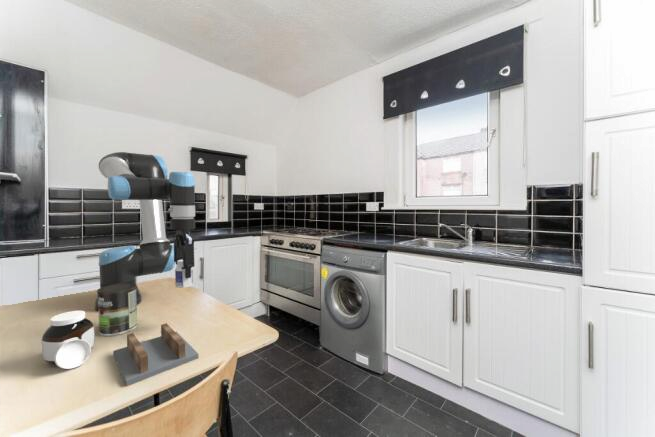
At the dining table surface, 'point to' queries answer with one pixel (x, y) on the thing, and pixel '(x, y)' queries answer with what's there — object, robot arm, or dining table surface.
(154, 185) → the robot arm
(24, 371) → the dining table surface
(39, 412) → the dining table surface
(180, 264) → the pill bottle
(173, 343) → the wooden rail pair
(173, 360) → the plate
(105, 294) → the coffee can
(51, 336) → the spread jar
